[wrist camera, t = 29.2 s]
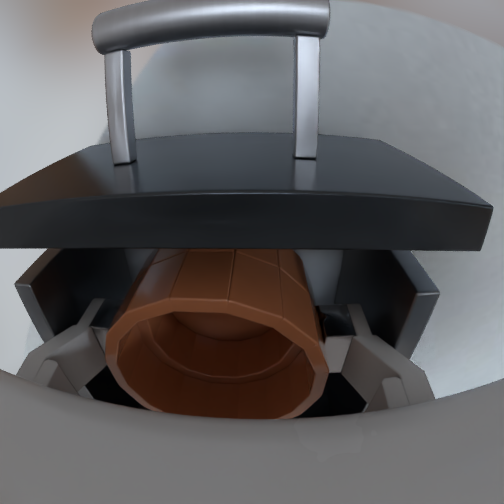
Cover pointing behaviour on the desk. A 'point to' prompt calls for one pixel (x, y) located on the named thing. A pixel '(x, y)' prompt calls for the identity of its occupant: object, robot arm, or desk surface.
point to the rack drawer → (236, 196)
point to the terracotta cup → (220, 335)
